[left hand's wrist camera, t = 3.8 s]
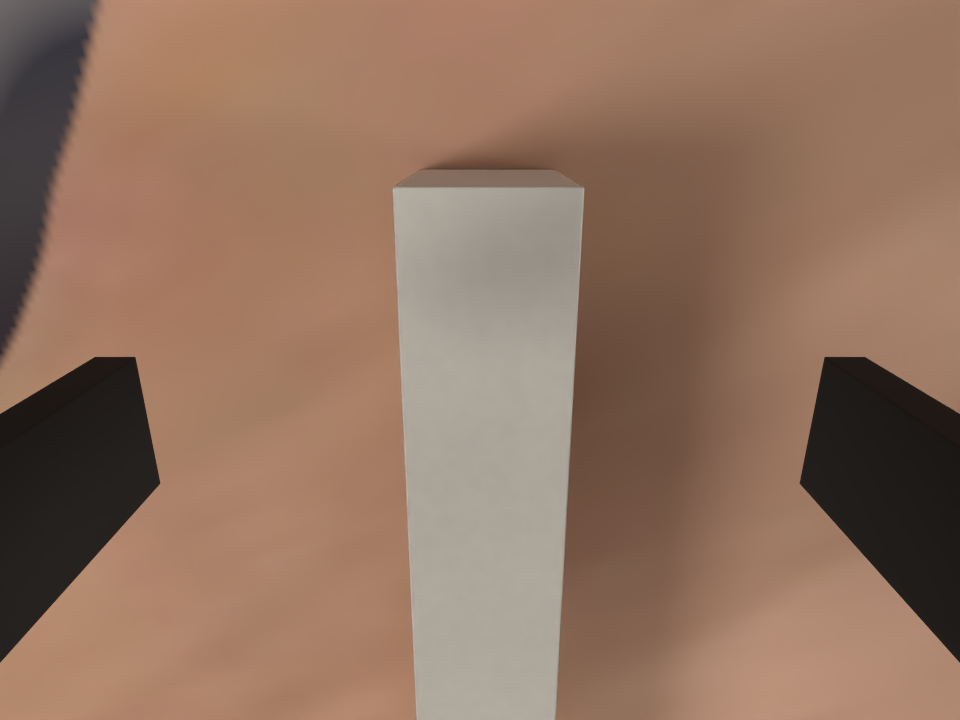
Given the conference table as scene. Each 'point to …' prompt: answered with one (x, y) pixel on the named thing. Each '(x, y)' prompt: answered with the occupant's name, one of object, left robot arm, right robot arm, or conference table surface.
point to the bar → (487, 431)
